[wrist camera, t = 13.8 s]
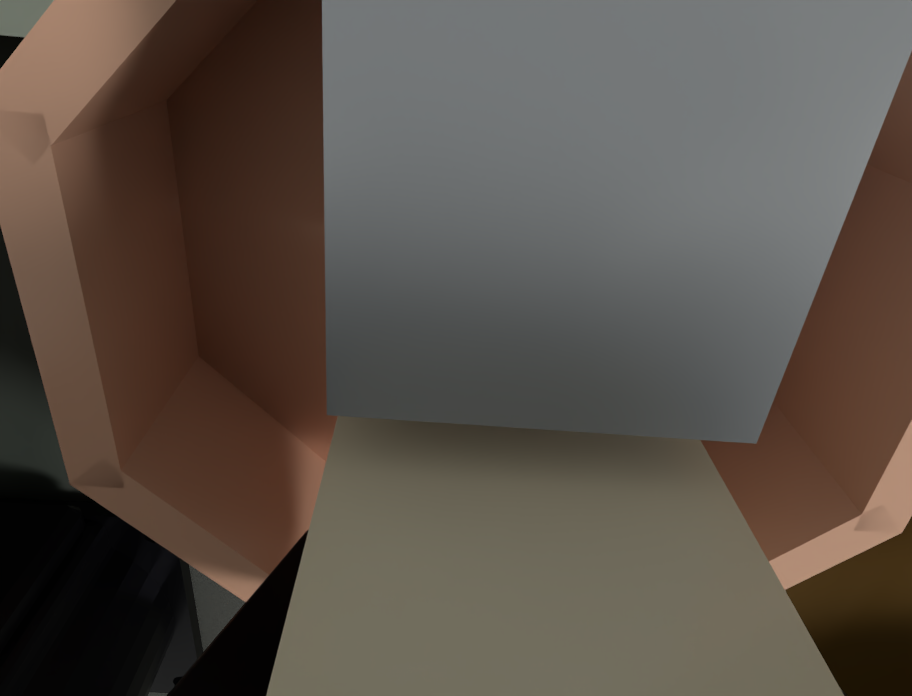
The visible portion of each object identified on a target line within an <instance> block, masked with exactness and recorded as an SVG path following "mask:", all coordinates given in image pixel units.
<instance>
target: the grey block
mask: <svg viewBox="0 0 912 696" xmlns="http://www.w3.org/2000/svg"><path fill="white" fill-rule="evenodd" d="M911 51H912V0H322V56H323V140H324V224H325V308H326V392H327V415H331V416H347V417H362V418H377V419H392V420H407V421H422V422H437V423H452V424H467V425H482V426H497V427H512V428H528V429H543V430H558V431H573V432H588V433H603V434H618V435H633V436H648V437H663V438H678V439H693V440H709V441H724V442H739V443H754V444H757V441H758V438H759V436H760V433H761V431H762V428H763V426H764V423H765V421H766V418H767V416H768V413H769V411H770V408H771V406H772V403H773V401H774V398H775V395H776V393H777V390H778V388H779V385H780V383H781V380H782V378H783V375H784V373H785V370H786V368H787V365H788V363H789V360H790V357H791V355H792V352H793V350H794V347H795V345H796V342H797V340H798V337H799V335H800V332H801V330H802V327H803V325H804V322H805V320H806V317H807V314H808V312H809V309H810V307H811V304H812V302H813V299H814V297H815V294H816V292H817V289H818V287H819V284H820V282H821V279H822V276H823V274H824V271H825V269H826V266H827V264H828V261H829V259H830V256H831V254H832V251H833V249H834V246H835V244H836V241H837V239H838V236H839V233H840V231H841V228H842V226H843V223H844V221H845V218H846V216H847V213H848V211H849V208H850V206H851V203H852V201H853V198H854V196H855V193H856V190H857V188H858V185H859V183H860V180H861V178H862V175H863V173H864V170H865V168H866V165H867V163H868V160H869V158H870V155H871V152H872V150H873V147H874V145H875V142H876V140H877V137H878V135H879V132H880V130H881V127H882V125H883V122H884V120H885V117H886V115H887V112H888V109H889V107H890V104H891V102H892V99H893V97H894V94H895V92H896V89H897V87H898V84H899V82H900V79H901V77H902V74H903V71H904V69H905V66H906V64H907V61H908V59H909V56H910V54H911Z"/></svg>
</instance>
